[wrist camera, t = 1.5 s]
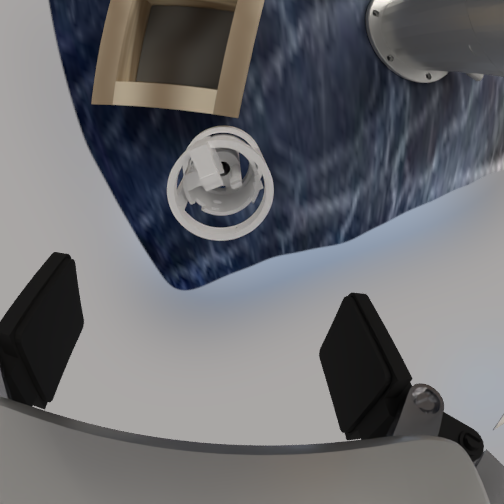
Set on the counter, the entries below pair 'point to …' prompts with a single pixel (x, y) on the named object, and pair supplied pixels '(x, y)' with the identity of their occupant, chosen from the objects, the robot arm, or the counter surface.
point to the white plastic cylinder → (220, 182)
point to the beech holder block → (177, 54)
